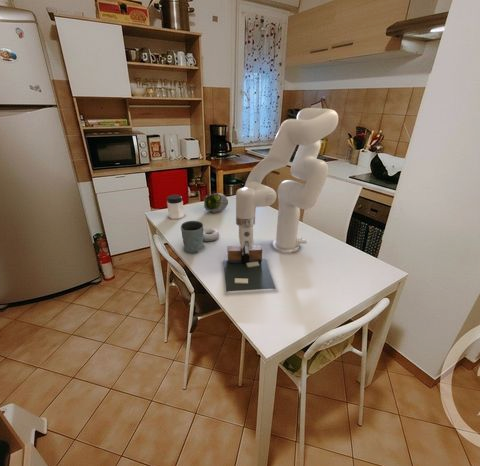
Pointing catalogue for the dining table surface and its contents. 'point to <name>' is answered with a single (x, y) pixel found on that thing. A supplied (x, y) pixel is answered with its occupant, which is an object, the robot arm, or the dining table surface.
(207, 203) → the potted plant
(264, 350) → the dining table surface
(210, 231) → the donut
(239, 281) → the chalk mark
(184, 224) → the gray cup
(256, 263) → the chalk mark
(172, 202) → the jar
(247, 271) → the slate board
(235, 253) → the eraser
